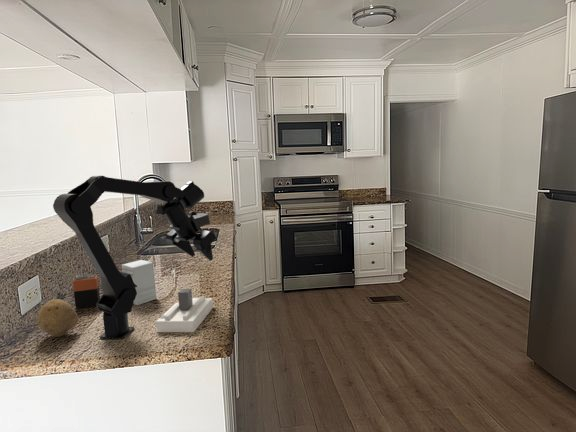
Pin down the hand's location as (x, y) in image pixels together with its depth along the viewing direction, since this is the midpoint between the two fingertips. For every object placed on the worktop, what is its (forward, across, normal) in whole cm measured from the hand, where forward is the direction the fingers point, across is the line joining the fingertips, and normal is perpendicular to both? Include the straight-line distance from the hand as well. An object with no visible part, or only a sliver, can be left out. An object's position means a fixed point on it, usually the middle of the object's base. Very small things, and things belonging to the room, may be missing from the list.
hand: (202, 257), depth 128 cm
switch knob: (+3, -8, +16) cm, 18 cm away
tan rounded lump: (-6, +12, +42) cm, 44 cm away
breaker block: (+6, -8, +18) cm, 20 cm away
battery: (+1, +30, +28) cm, 41 cm away
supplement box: (+7, +19, +18) cm, 27 cm away
